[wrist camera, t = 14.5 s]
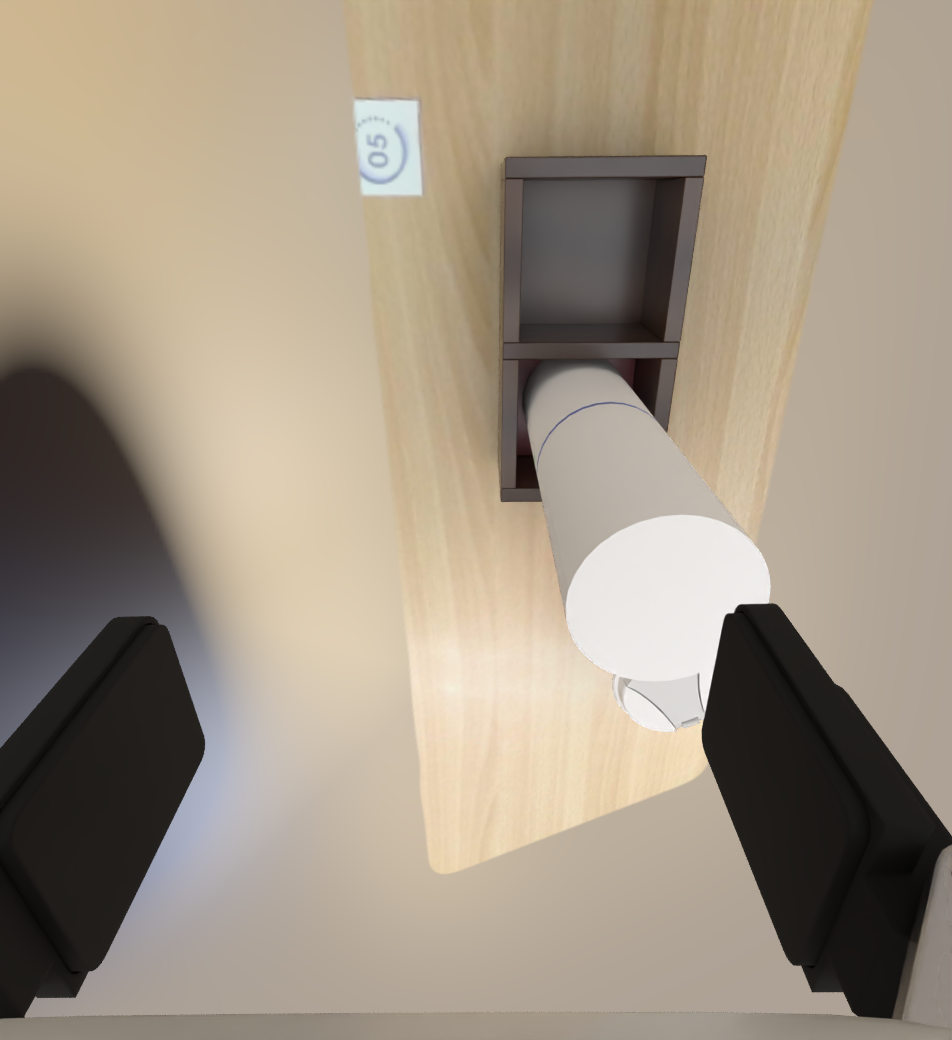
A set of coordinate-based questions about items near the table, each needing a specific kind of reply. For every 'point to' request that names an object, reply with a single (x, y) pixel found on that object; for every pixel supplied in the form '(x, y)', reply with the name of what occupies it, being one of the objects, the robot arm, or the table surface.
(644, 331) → the wooden compartment box
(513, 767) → the table surface
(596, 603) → the cylindrical container
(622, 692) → the paper cup
